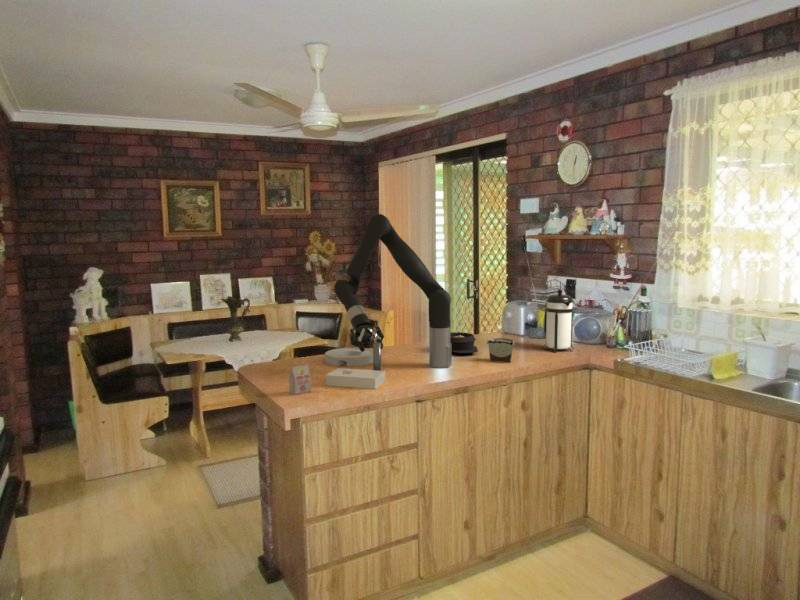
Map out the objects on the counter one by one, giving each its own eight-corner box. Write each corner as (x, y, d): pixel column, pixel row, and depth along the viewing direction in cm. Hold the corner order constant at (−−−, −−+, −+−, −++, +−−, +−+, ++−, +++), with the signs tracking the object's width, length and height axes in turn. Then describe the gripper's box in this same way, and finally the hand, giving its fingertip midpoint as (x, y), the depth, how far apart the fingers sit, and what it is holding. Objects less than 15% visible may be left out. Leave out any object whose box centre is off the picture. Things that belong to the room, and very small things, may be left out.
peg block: (385, 381, 225) (385, 371, 224) (375, 388, 213) (375, 378, 213) (338, 377, 231) (338, 368, 230) (326, 385, 219) (325, 375, 219)
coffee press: (578, 348, 285) (580, 288, 281) (569, 354, 271) (570, 291, 268) (544, 345, 294) (545, 287, 290) (533, 350, 281) (535, 289, 277)
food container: (517, 360, 259) (517, 338, 258) (513, 363, 254) (514, 341, 252) (490, 358, 264) (490, 336, 263) (486, 360, 259) (487, 339, 258)
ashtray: (385, 362, 258) (385, 353, 258) (339, 369, 246) (338, 360, 246) (360, 353, 278) (360, 345, 277) (317, 359, 266) (316, 351, 265)
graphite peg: (382, 376, 232) (382, 342, 230) (379, 378, 229) (379, 344, 227) (375, 375, 233) (374, 342, 231) (372, 377, 230) (371, 343, 228)
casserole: (487, 355, 271) (487, 337, 270) (451, 358, 265) (451, 340, 264) (464, 345, 295) (464, 329, 294) (431, 348, 288) (431, 331, 287)
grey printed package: (289, 393, 208) (288, 366, 207) (305, 390, 213) (305, 363, 211) (294, 395, 206) (293, 368, 204) (310, 392, 210) (310, 365, 209)
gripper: (346, 314, 234) (360, 346, 226) (376, 311, 242) (390, 342, 234) (340, 325, 239) (354, 356, 231) (370, 322, 247) (384, 352, 239)
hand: (372, 349), depth 233 cm, fingers open, 8 cm apart
